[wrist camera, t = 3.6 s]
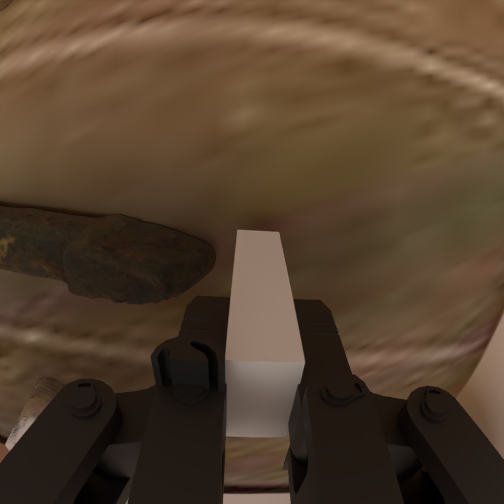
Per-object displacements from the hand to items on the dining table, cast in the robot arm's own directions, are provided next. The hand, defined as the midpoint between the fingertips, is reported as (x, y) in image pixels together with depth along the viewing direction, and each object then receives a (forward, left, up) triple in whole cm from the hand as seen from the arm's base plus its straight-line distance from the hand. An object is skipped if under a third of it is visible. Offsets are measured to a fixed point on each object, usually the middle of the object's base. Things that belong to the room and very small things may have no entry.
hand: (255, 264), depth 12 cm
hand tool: (-11, 0, -4) cm, 12 cm away
